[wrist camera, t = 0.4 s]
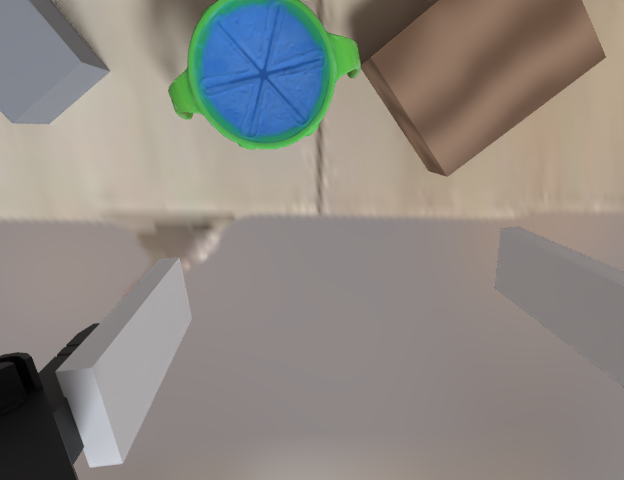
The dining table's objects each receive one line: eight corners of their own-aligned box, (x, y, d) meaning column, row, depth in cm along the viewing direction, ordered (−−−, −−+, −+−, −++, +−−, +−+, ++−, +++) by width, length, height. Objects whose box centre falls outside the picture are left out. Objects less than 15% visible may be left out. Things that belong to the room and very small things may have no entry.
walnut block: (358, 66, 35) (370, 57, 30) (506, -57, 32) (544, -89, 28) (427, 170, 38) (447, 176, 34) (563, 66, 36) (606, 57, 31)
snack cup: (201, 153, 36) (170, 162, 26) (176, 37, 32) (129, -2, 23) (352, 133, 36) (377, 135, 26) (342, 17, 33) (366, -29, 23)
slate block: (-21, 48, 32) (-74, 34, 27) (42, -11, 31) (-2, -36, 26) (50, 124, 34) (12, 123, 29) (111, 71, 33) (81, 62, 28)
